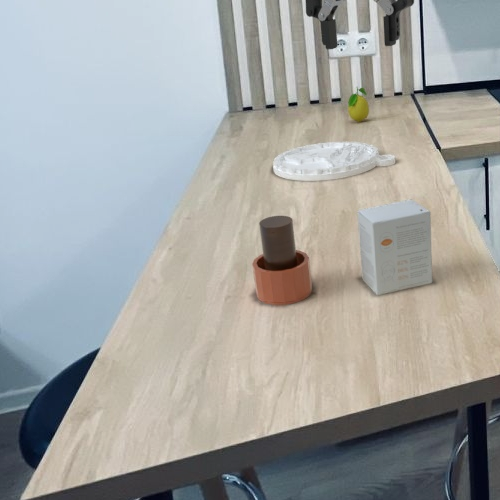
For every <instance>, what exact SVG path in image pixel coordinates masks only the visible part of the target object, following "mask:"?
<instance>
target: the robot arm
mask: <svg viewBox="0 0 500 500" xmlns="http://www.w3.org/2000/svg"><path fill="white" fill-rule="evenodd" d="M344 2H345V0H305V14H306V16H307V17H310V18H311V17H312V18H315V19H317V20H318V21H319V23H320V33H321V42H322V45H323V46H325V49H326V50H334V49H337V48H338V34H337V33H338V32H337V21H336V18H334V17H335V15H336V14H337V11H338V10H339V8H340V6H341V5H342V4H343V3H344ZM373 2H375V3H377V5H378V6H379V7H380V8H381V10H382V11H383V12H384V13H385V15H384V16H382V17H383V18H382V19H383V39H384V40H383V41H384V46H385V47H392V46H396V44H397V41H398V40H400V37H401V31H400V30H401V26H400V24H401V23H400V14H401V12H402V11H404V10H405V9H407V8H410V7H412V6H413V5H414V4H415V0H373Z"/></svg>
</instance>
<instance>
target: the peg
mask: <svg viewBox="0 0 500 500" xmlns="http://www.w3.org/2000/svg"><path fill="white" fill-rule="evenodd" d="M258 226H259V232H260V241H261V248H262V254H263V257H264V264H265V270H269V271H282V270H287V269H292V268H294V267H297V257H296V250H297V249H296V240H295V229H294V220H293V218H292V217H290V216H288V215H273V216H268V217H265V218H263V219H261V220H260V222H259V223H258Z"/></svg>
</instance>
